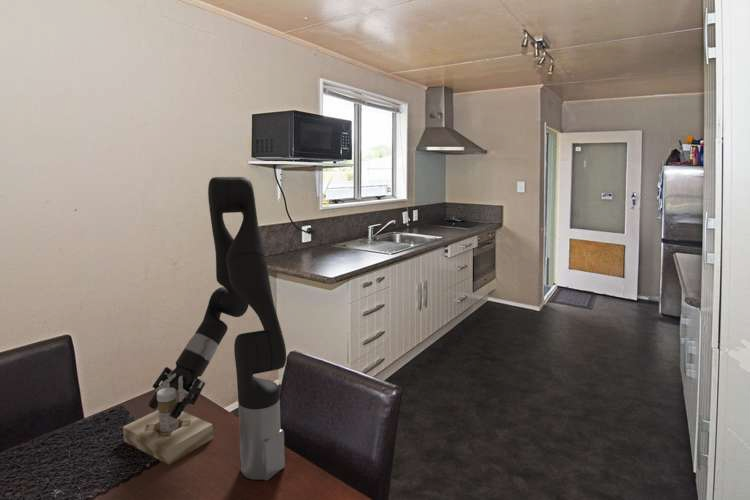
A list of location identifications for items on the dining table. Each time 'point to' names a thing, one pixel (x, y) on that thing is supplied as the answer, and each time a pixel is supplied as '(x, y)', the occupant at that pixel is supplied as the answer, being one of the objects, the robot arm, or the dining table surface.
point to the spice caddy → (168, 436)
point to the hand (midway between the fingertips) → (162, 412)
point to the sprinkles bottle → (167, 409)
